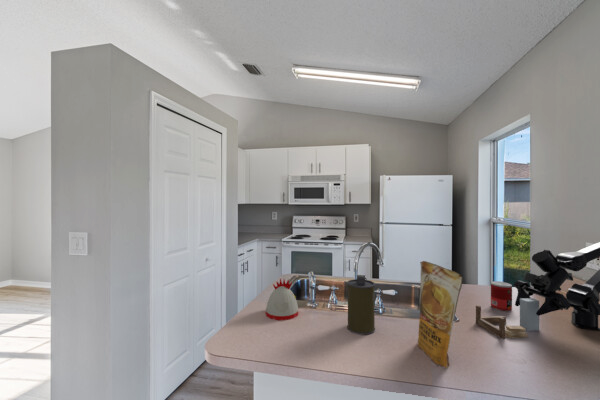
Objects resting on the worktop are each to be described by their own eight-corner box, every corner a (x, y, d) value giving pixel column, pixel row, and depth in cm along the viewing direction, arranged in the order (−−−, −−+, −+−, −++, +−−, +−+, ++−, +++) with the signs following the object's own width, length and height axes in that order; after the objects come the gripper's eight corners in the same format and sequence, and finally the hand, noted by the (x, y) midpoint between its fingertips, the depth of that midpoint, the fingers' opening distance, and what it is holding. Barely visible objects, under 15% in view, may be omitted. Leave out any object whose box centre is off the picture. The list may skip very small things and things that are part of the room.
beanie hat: (297, 320, 117) (297, 283, 117) (263, 320, 117) (264, 283, 117) (298, 307, 131) (298, 274, 131) (268, 307, 131) (268, 274, 131)
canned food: (511, 312, 126) (511, 287, 126) (490, 308, 131) (490, 283, 131) (512, 307, 132) (512, 283, 132) (491, 303, 137) (491, 280, 137)
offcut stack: (519, 333, 106) (519, 324, 106) (528, 337, 103) (528, 329, 103) (502, 333, 105) (502, 325, 105) (510, 338, 102) (510, 330, 102)
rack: (503, 321, 116) (503, 304, 116) (532, 337, 103) (532, 317, 103) (475, 323, 115) (475, 305, 115) (501, 338, 102) (501, 318, 102)
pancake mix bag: (429, 339, 101) (429, 259, 101) (464, 371, 82) (464, 273, 82) (410, 340, 101) (411, 259, 101) (442, 372, 82) (442, 273, 82)
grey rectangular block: (531, 326, 112) (531, 298, 112) (539, 330, 109) (539, 301, 109) (519, 327, 111) (519, 298, 111) (527, 330, 108) (527, 301, 108)
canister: (375, 336, 104) (376, 280, 104) (346, 333, 106) (346, 278, 106) (374, 323, 114) (374, 273, 114) (347, 321, 116) (347, 271, 116)
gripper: (518, 260, 120) (493, 288, 119) (563, 271, 101) (534, 304, 100) (535, 279, 120) (511, 306, 119) (583, 293, 102) (555, 326, 101)
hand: (526, 310), depth 110 cm, fingers open, 9 cm apart
